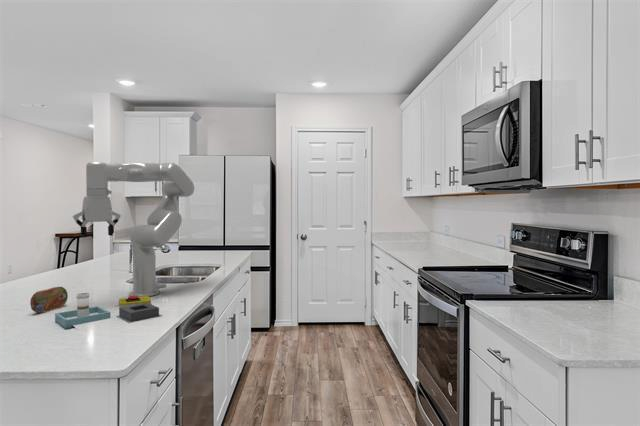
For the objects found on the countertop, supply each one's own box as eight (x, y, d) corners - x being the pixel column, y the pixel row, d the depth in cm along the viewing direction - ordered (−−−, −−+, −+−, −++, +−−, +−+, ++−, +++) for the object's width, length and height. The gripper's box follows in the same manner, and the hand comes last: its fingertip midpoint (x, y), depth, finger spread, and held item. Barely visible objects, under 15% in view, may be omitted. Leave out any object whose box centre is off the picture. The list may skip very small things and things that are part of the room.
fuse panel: (148, 312, 156) (148, 301, 156) (162, 318, 148) (162, 307, 147) (115, 318, 147) (115, 307, 147) (128, 325, 139) (128, 314, 139)
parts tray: (98, 314, 153) (98, 306, 153) (110, 320, 145) (110, 312, 145) (55, 321, 143) (55, 313, 143) (65, 329, 135) (65, 320, 135)
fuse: (87, 317, 147) (87, 292, 146) (91, 319, 144) (90, 294, 144) (75, 319, 144) (75, 294, 144) (79, 321, 141) (78, 295, 141)
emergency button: (114, 296, 165) (154, 292, 172) (114, 307, 165) (154, 302, 173) (115, 301, 157) (157, 296, 164) (115, 312, 157) (157, 307, 165)
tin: (35, 315, 151) (35, 292, 151) (28, 315, 152) (28, 292, 152) (68, 305, 166) (68, 284, 166) (61, 305, 166) (61, 284, 166)
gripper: (116, 193, 172) (116, 234, 172) (69, 193, 159) (70, 236, 160) (123, 193, 167) (123, 235, 167) (76, 192, 154) (76, 238, 155)
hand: (97, 236), depth 163 cm, fingers open, 9 cm apart
